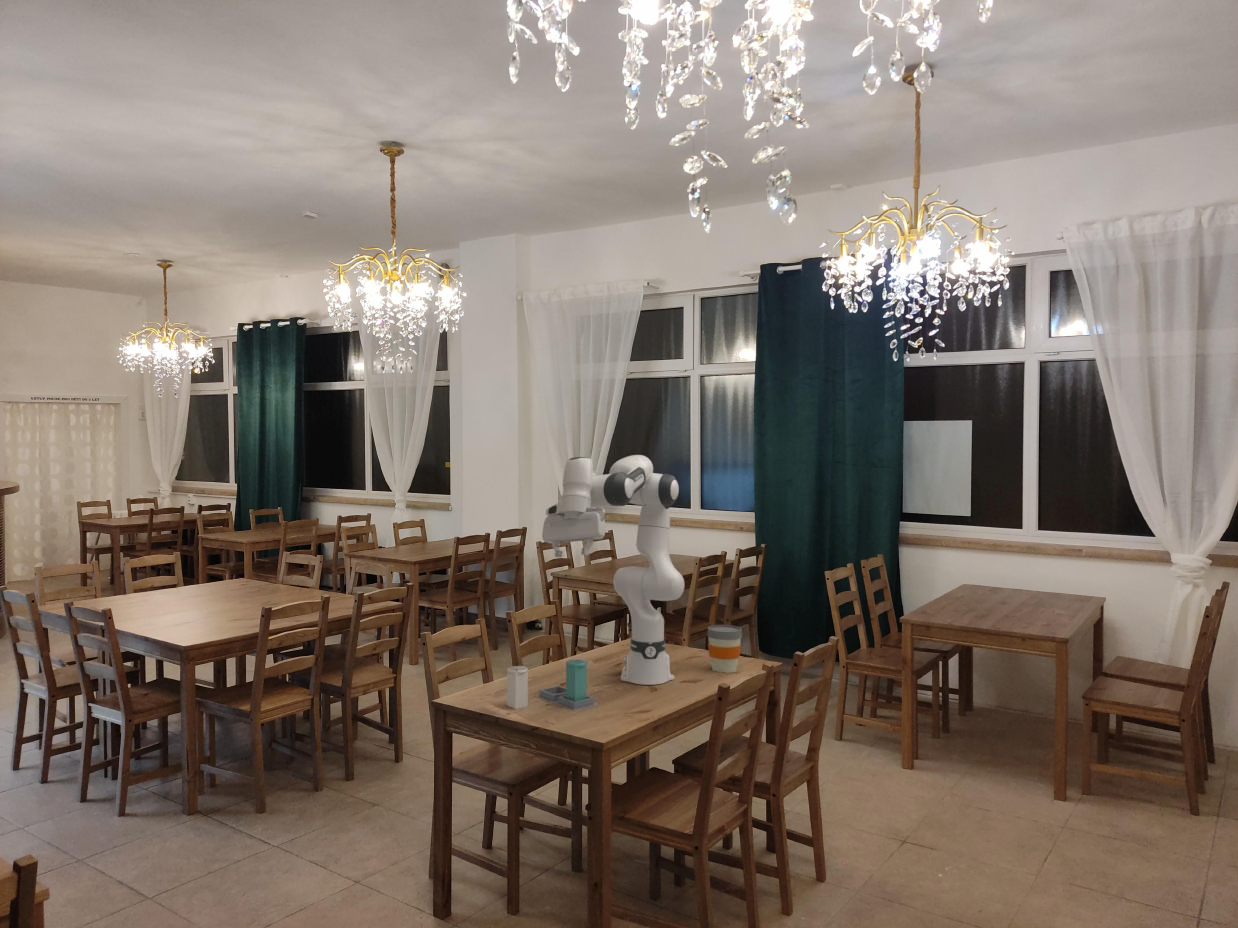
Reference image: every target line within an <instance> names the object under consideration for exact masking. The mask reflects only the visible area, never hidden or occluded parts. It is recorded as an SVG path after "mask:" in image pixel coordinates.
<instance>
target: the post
mask: <svg viewBox="0 0 1238 928" xmlns="http://www.w3.org/2000/svg"><path fill="white" fill-rule="evenodd" d="M506 670H507V673H506V674H507V675H506V676H507V677H506V679H507V680H506V681H507V682H506V684H507V685H506V687H507V689H506V693H507V694H506V698H507V699H506V706H507V707H510V708H512V709H514V710H517V709H521V708H526V707H529V695H528V694H529V669H528V667H526V666H524V665H523V666H522V665H517V666H516V665H514V666H509V667H507V668H506Z"/></svg>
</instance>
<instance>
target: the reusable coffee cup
mask: <svg viewBox="0 0 1238 928" xmlns="http://www.w3.org/2000/svg"><path fill="white" fill-rule="evenodd" d="M742 632H743V630H742V628H741V627H740V626H736V625H731V624H715V625H710V626H708V628H707V637H708V639H707V640H708V643H707V647H708V648H707V649H708V656H709V657H710V662H711V663H710V664H711V669H712V671H713V672H716V671H717V672H716V673H722V672H725V673H726V674H727V673H728V674H729V673H735V672H737V670H738V662H739V658H740V655H741V649H742V643H741V642H742V641H741V639H742V638H743V633H742ZM725 673H724V674H725Z"/></svg>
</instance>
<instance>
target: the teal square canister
mask: <svg viewBox="0 0 1238 928" xmlns="http://www.w3.org/2000/svg"><path fill="white" fill-rule="evenodd" d="M587 666H588V662H587V661H585V660H583V659H578V658H577V659H570V660H568V661H566V663H565V668H566V669H565V688H566V699H568V700H571V701H574V702H576V701H580V700H584V699H587V696H588V695H587V694H588V693H587V692H588V691H587V688H588V687H587V684H588V683H587V680H588V675H587V674H588V669H587V668H588V667H587Z"/></svg>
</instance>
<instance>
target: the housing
mask: <svg viewBox="0 0 1238 928" xmlns="http://www.w3.org/2000/svg"><path fill="white" fill-rule="evenodd" d="M538 692H539V693H538V695H537V694H536V695H534V697H536V698H538V699H540V700H544V701H546V702H548V703H550V704H555V705H556V706H559V707H562V708H565V709H567V710H570V711H573V712H575V711H580V710H583V709H587V708H591V707H595V706H599V705H600V704H598V703H597V702H596V703H595V701H594V700H595V698H594V697H592V696H589V695H587V699H584V700H580V701H576V702H574V701H571V700H568V699H566V687H563V686H561V685H556V686H552V687H550V686H549V687H548V688H543V689H539V691H538Z"/></svg>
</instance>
